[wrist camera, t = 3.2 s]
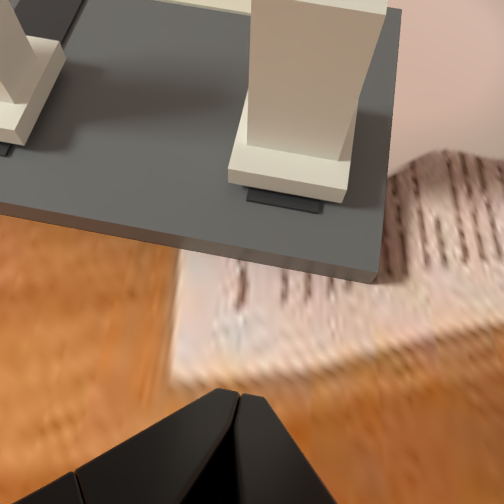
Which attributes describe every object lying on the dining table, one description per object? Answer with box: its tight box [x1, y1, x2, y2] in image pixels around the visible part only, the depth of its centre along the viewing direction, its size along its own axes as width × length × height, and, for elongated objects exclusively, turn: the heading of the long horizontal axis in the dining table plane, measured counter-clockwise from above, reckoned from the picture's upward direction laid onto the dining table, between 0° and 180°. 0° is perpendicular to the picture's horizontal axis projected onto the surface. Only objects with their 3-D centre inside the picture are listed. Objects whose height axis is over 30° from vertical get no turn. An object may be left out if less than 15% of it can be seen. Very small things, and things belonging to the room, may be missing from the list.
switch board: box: [0, 0, 402, 284], centre depth 27 cm, size 18×26×2 cm
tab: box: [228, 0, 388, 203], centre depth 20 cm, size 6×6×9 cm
